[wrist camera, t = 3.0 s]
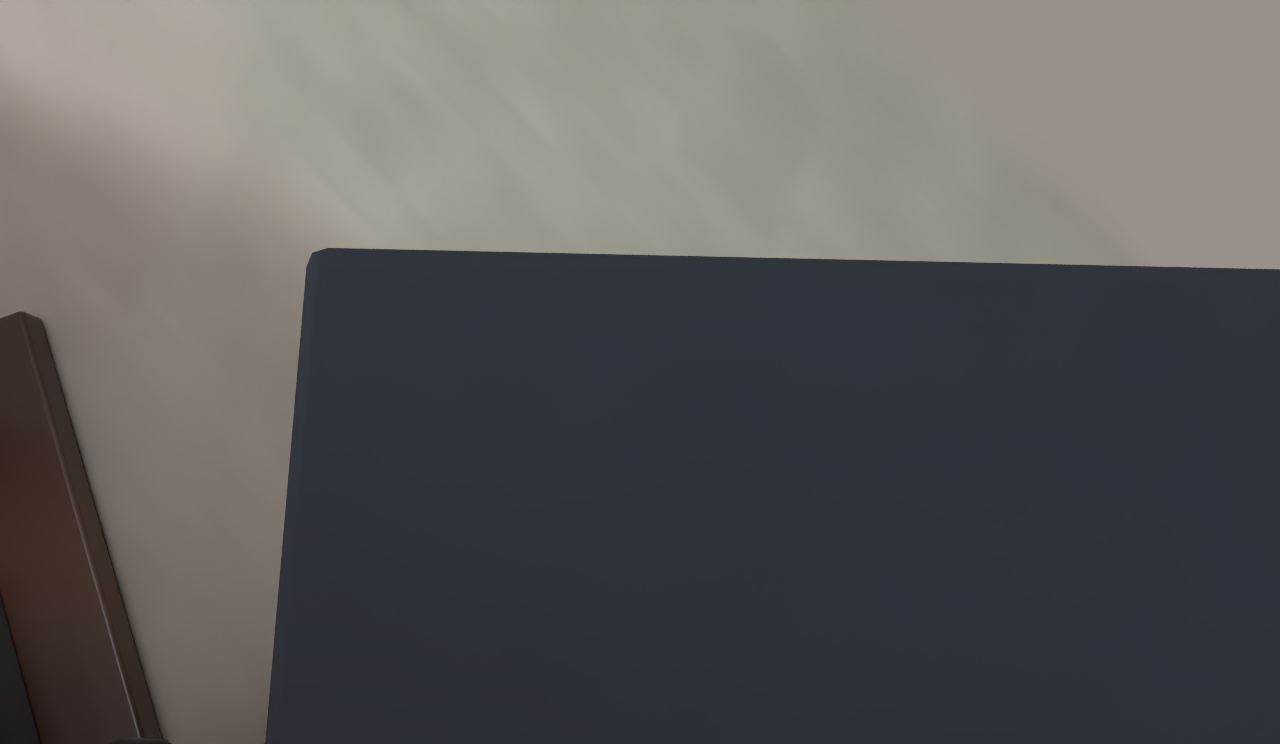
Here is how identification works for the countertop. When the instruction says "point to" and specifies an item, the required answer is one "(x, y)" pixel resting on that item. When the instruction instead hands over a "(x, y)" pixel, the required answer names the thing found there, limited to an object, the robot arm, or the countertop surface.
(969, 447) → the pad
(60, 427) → the pad mount
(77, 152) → the countertop surface
